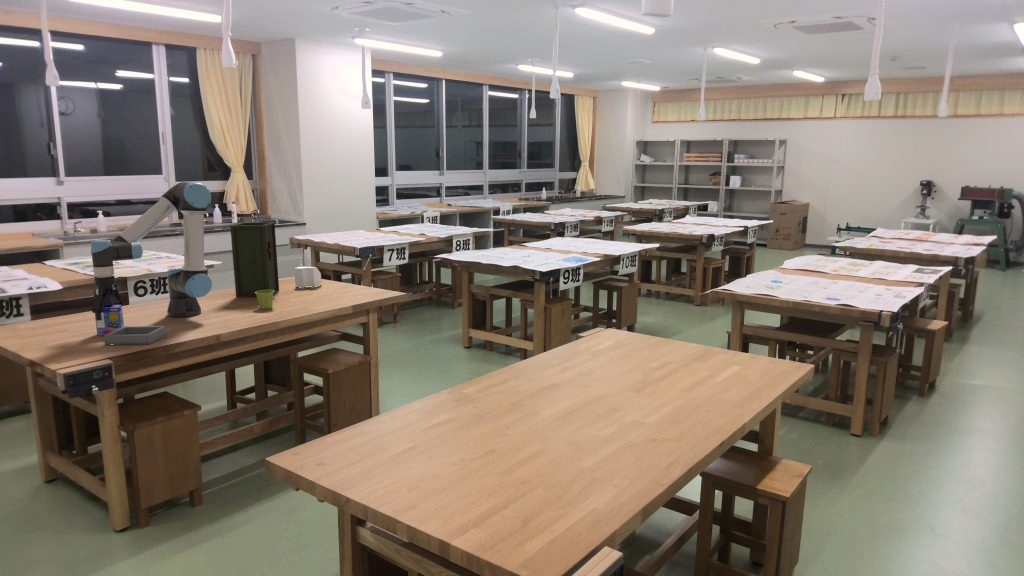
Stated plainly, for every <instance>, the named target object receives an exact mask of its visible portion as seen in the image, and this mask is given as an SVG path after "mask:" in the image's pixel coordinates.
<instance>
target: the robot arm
mask: <svg viewBox="0 0 1024 576" xmlns="http://www.w3.org/2000/svg"><path fill="white" fill-rule="evenodd" d="M211 201H212V193H211V190H210V189H209V188H208V187H207V186H206V185H205V184H203V183H200V182H195V181H194V182H193V181H192V182H191V181H190V182H189V181H188V182H187V181H181V182H178V183H176V184H175V185H173V186H171V187H170V189H168V190H166V192H164V193H163V194H162V195H160V197H159V200H158V201H157V202H156V203H154V205H152V206H151V207H150V208H149V209H148V210H147V211H146V212H144V213H143V214H142V215H140V216H139V217H138V218H137V219H136V220H135V221H133V222H132V223H131V224H130V225H129V226H127V227H126V228H125V229H123V231H122V232H120V233H119V234H118V235H117V236H115V237H114V238H113V239H111V240H109V239H96V240H92V241H91V242H90V253H91V260H92V270H93V275H94V278H93V280H94V286H96V287H98V289H94V290H93V300H92V308H91V313H92V314H95V313H96V319H97V327H96V329H97V328H104V327H105V323H104V315H103V312H102V310H103V306H104V305H105V304H104V303H105V302H106V301H107V299H108V298H109V300H110V302H112V305H122V306H123V303H124V301H123V299H122V297H121V294H120V291H119V289H118V285H117V284H116V279H115V278H116V276H115V269H114V262H119V261H127V260H128V261H130V260H137V259H138V260H139V259H141V258H142V256H143V255H144V254H143V247H142V245H141V243H140V242H139V241H140V240H142V239H144V237H145V236H147V235H148V234H149V233H150V232H151V231H152V230H153V229H155V227H157V226H158V225H159V224H160V223H162V222H163V221H164V220H165V219H166V218H168V217H169V216H171V215H172V214H173V213H177V212H178V211H179V212H180V213H181V214H182V215H183V257H184V260H183V262H184V264H183V266H182V267H180V268H172V269H168V270H167V275H166V276H167V277H166V278H167V284H168V293H169V294H168V295H169V302H168V306H167V310H166V312H167V313H166V314H167V315H168V316H167V317H170V318H186V317H195V316H197V315H201V313H202V307H201V305H200V303H199V302H198V299H197V298H199V299H200V298H203V297H206V296H207V295H208V294H209V293H210V292H211V290H212V287H213V282H212V279H211V277H210V276H209V274H208V273H209V271H208V270H209V269H208V268H207V267H206V265H205V231H204V230H205V229H204V228H205V227H204V226H205V225H204V224H205V223H204V219H205V217H204V216H205V215H206V213H207V212H208V206H209V205H210V204H211ZM96 319H95V320H96Z"/></svg>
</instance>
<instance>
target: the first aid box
mask: <svg viewBox="0 0 1024 576" xmlns="http://www.w3.org/2000/svg"><path fill="white" fill-rule="evenodd" d="M229 228H230V237H231V241H230V242H231V249H232V251H231V252H232V263H233V265H232V266H233V276H234V290H235V298H236V297H245V298H257V296H256V293H255V292H256V291H260V290H274V293H275V294H277V293H278V292H280V282H279V271H278V270H279V268H278V253H277V239H276V224H275V222H240V223H236V224H232V225H229ZM277 291H278V292H277ZM276 292H277V293H276Z"/></svg>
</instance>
